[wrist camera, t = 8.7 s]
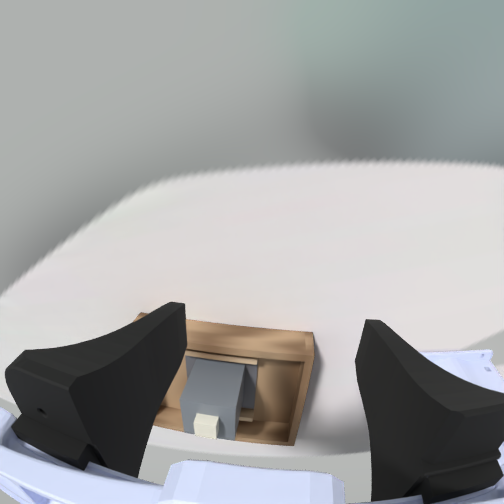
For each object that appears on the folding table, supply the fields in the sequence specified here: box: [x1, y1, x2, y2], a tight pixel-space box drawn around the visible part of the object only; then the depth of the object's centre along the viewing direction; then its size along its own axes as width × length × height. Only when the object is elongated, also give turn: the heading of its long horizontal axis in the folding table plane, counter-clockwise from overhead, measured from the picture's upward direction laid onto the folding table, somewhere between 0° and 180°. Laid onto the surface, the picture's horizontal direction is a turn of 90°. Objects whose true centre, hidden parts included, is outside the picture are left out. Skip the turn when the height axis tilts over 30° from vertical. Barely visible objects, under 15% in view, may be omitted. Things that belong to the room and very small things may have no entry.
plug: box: [179, 358, 245, 441], centre depth 23 cm, size 4×4×6 cm
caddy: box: [132, 313, 315, 446], centre depth 25 cm, size 14×11×3 cm
